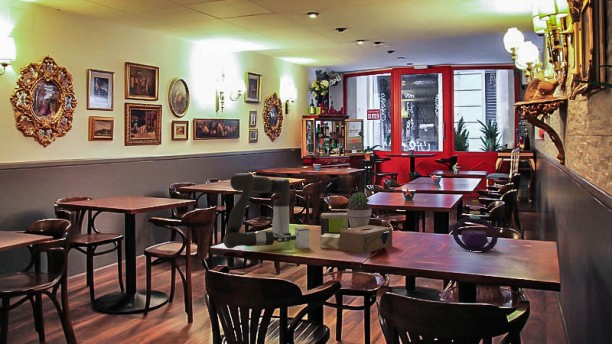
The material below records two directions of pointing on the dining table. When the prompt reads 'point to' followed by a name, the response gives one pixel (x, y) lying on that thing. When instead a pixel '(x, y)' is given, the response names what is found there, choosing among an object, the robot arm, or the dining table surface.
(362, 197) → the potted plant
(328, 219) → the tea box
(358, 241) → the tissue box cover
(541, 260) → the dining table surface
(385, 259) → the dining table surface
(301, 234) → the canister
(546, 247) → the dining table surface
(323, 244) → the chevron patterned box
